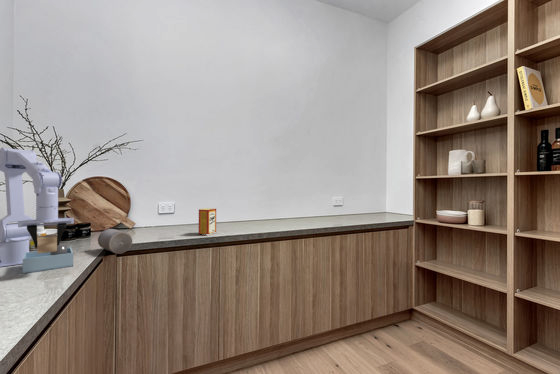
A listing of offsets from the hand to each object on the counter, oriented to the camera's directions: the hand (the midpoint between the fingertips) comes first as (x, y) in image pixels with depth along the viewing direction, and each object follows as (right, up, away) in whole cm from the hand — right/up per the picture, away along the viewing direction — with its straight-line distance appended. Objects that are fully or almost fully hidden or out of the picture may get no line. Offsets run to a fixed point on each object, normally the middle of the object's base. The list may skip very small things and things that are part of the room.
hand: (47, 246), depth 93 cm
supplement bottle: (-32, -9, +33) cm, 47 cm away
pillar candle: (-1, -4, +35) cm, 36 cm away
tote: (-6, -9, +8) cm, 14 cm away
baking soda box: (+35, -9, +76) cm, 84 cm away
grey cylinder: (-4, -9, +10) cm, 14 cm away
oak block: (0, -2, 0) cm, 2 cm away
